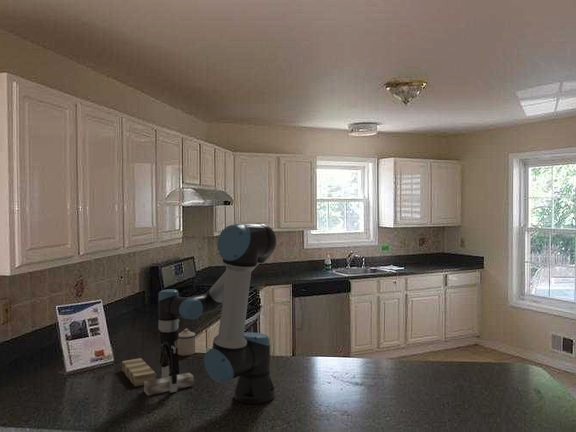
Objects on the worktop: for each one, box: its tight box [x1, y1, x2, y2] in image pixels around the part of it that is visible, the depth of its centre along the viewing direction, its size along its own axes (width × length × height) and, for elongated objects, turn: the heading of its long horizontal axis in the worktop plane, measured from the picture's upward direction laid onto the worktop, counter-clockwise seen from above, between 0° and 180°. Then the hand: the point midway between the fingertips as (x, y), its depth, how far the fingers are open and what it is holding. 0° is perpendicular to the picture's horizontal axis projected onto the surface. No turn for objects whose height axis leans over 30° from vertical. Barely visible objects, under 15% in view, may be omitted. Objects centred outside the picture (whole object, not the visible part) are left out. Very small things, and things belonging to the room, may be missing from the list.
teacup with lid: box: [174, 328, 197, 356], centre depth 225 cm, size 12×9×12 cm
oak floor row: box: [121, 357, 158, 387], centre depth 193 cm, size 22×9×4 cm, turn 32°
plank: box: [143, 372, 195, 396], centre depth 179 cm, size 18×5×4 cm, turn 123°
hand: (169, 387), depth 180 cm, fingers open, 9 cm apart
